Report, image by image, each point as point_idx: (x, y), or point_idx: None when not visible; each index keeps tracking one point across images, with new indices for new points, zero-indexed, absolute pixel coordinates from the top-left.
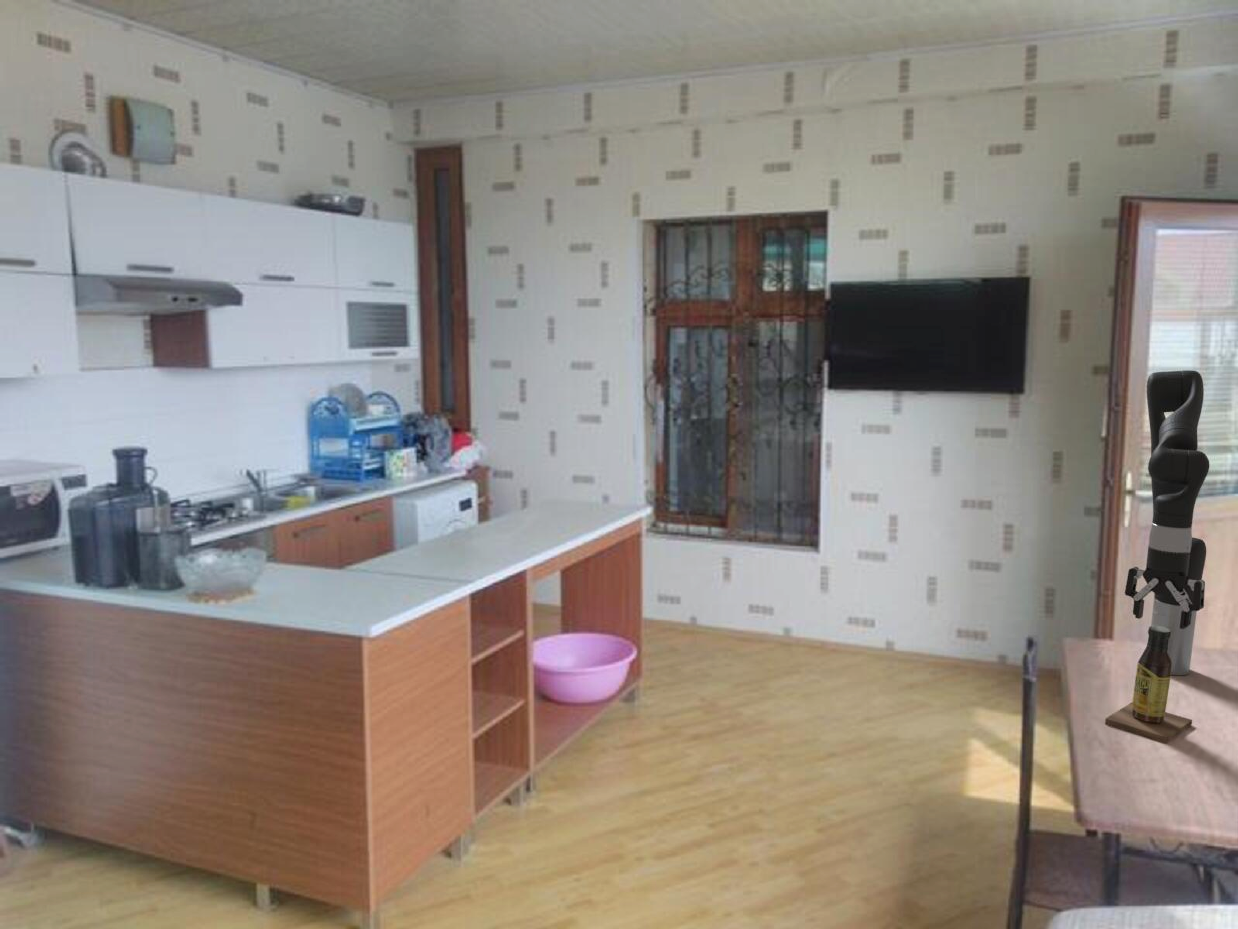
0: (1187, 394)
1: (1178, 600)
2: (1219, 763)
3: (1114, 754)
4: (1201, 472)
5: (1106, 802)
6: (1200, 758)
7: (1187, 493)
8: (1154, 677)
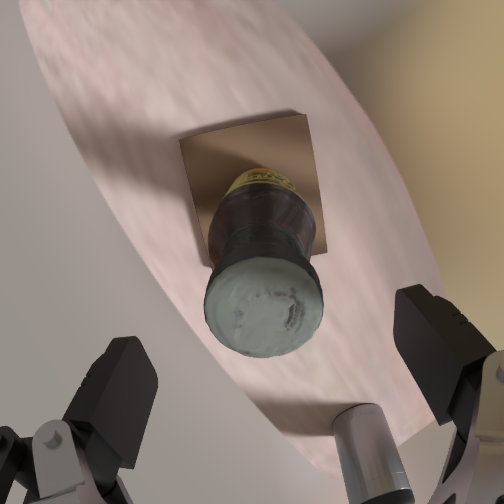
0: None
1: (58, 495)
2: (93, 153)
3: (203, 8)
4: None
5: None
6: (116, 139)
7: None
8: (234, 188)
